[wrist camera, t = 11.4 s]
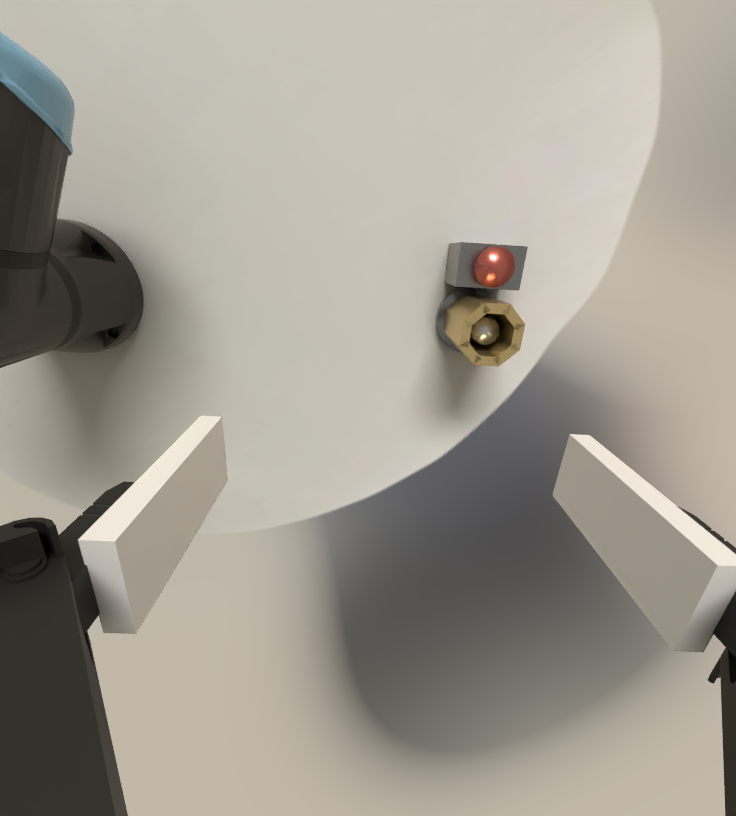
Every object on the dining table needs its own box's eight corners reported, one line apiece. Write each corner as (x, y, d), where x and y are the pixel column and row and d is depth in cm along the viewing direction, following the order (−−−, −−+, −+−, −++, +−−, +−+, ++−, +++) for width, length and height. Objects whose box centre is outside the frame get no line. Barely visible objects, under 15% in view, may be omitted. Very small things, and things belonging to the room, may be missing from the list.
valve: (432, 348, 51) (444, 365, 43) (445, 243, 46) (461, 241, 38) (492, 351, 51) (515, 369, 43) (511, 247, 46) (541, 246, 38)
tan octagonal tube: (440, 344, 49) (456, 363, 41) (447, 292, 47) (465, 301, 38) (490, 347, 49) (516, 367, 41) (499, 295, 47) (529, 305, 39)
